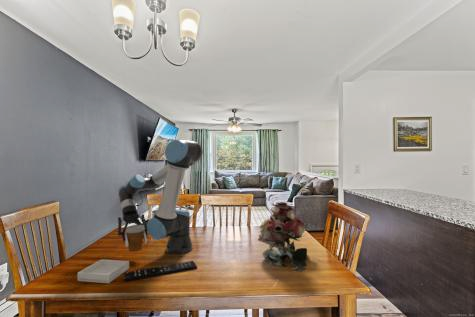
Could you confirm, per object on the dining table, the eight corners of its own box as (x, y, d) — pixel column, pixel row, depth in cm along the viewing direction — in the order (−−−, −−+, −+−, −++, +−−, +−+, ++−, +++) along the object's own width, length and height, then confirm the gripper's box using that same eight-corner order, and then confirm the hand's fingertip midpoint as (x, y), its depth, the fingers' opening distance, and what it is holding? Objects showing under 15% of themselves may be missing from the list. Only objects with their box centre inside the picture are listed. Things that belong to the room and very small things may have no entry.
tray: (129, 268, 120) (129, 261, 120) (108, 283, 105) (108, 274, 106) (101, 266, 122) (101, 259, 122) (77, 280, 108) (77, 272, 108)
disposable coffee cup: (148, 247, 134) (148, 225, 134) (136, 253, 125) (135, 229, 125) (134, 245, 137) (134, 224, 138) (121, 251, 128) (120, 228, 129)
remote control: (123, 276, 113) (123, 271, 113) (192, 263, 127) (192, 259, 127) (124, 283, 106) (124, 278, 106) (197, 269, 120) (196, 265, 120)
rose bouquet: (306, 251, 143) (306, 198, 143) (307, 273, 115) (307, 207, 115) (262, 247, 149) (262, 197, 150) (253, 267, 121) (252, 205, 122)
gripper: (146, 210, 150) (155, 243, 137) (107, 215, 138) (113, 252, 124) (149, 202, 146) (159, 236, 133) (109, 207, 134) (115, 244, 120)
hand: (136, 244), depth 129 cm, fingers closed on disposable coffee cup, 8 cm apart
